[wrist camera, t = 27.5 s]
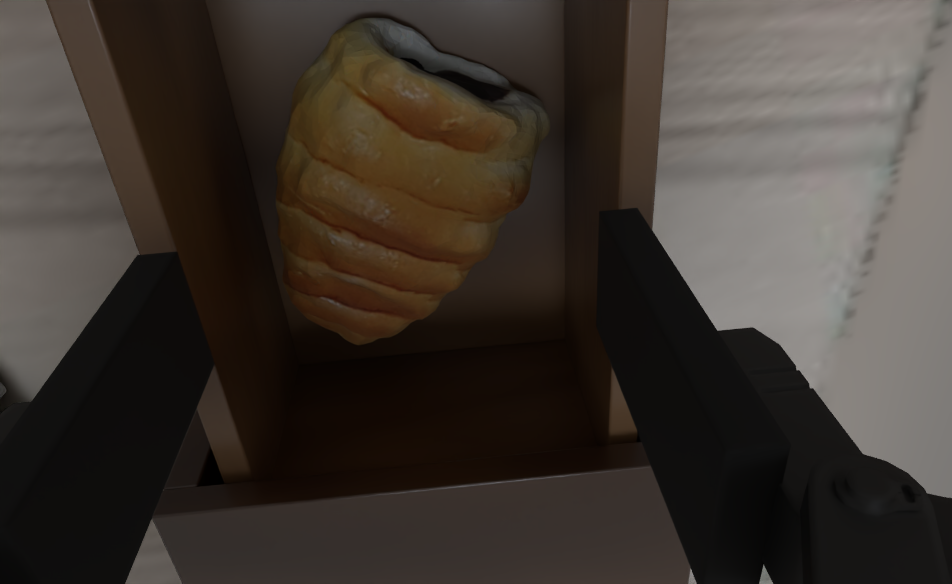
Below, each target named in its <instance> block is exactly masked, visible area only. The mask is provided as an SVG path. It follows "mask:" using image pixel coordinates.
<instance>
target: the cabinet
mask: <svg viewBox="0 0 952 584" xmlns="http://www.w3.org/2000/svg"><path fill="white" fill-rule="evenodd" d="M152 519H153V521H154V523H155V525H156V528H157V530H158V532H159V534H160V536H161V538H162V540H163V543H164V545H165V547H166V549H167V551H168V553H169V556H170V558H171V560H172V562H173V564H174V566H175V568H176V571H177V573H178V575H179V577H180V579H181V581H182V584H688V581H689V575H690V568H691V567H690V565H689V562H688V560H687V557H686V554H685V552H684V549H683V547H682V544H681V542H680V539H679V537H678V534H677V531H676V529H675V526H674V524H673V521H672V519H671V516H670V514H669V511H668V508H667V506H666V503H665V501H664V498H663V496H662V493H661V491H660V488H659V485H658V483H657V480H656V478H655V475H654V473H653V470H652V468H651V465H650V462H649V460H648V457H647V455H646V452H645V450H644V447H643V445H642V442H641V439H640V437H639V434H637V442H634V443H624V444H614V445H604V446H595V447H585V448H575V449H565V450H555V451H545V452H535V453H526V454H516V455H506V456H496V457H486V458H476V459H466V460H456V461H447V462H437V463H427V464H417V465H407V466H397V467H387V468H378V469H368V470H358V471H348V472H338V473H328V474H318V475H308V476H299V477H289V478H279V479H269V480H259V481H249V482H239V483H230V484H224V481H223V479H222V476H221V473H220V470H219V468H218V465H217V462H216V460H215V457H214V454H213V451H212V449H211V446H210V443H209V441H208V438H207V435H206V433H205V430H204V427H203V424H202V422H201V419H200V416H199V414H198V411H197V409H196V411H195V414H194V416H193V418H192V421H191V423H190V426H189V428H188V431H187V433H186V436H185V438H184V440H183V443H182V445H181V448H180V450H179V453H178V455H177V458H176V460H175V463H174V465H173V467H172V470H171V472H170V475H169V477H168V480H167V482H166V485H165V487H164V491H163V492H162V494H161V497H160V499H159V502H158V504H157V507H156V509H155V511H154V514H153V516H152Z"/></svg>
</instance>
